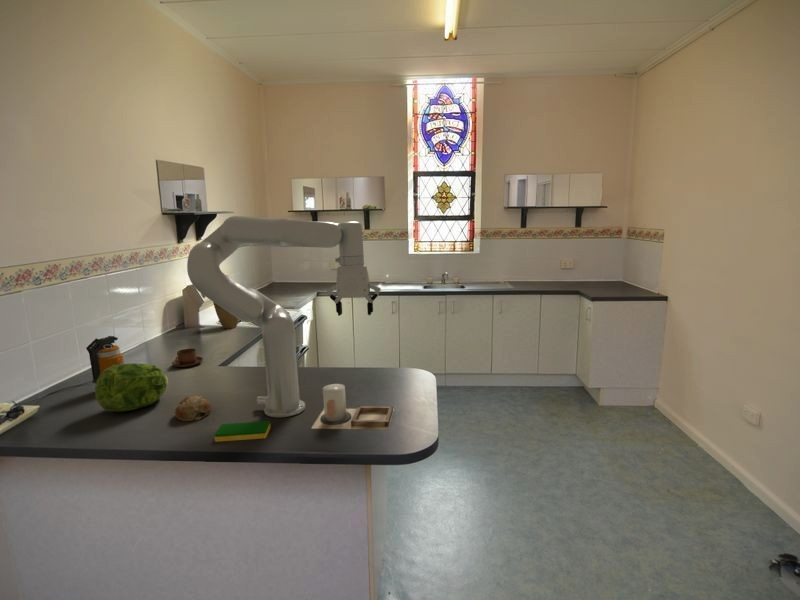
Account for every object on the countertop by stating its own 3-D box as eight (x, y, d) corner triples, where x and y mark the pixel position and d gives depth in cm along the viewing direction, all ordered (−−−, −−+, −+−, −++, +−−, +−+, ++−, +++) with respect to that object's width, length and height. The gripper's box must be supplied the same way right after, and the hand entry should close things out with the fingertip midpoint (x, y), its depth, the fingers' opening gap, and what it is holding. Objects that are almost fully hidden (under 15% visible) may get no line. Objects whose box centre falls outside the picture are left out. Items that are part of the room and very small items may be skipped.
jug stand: (311, 431, 133) (310, 423, 133) (324, 411, 147) (323, 403, 146) (388, 432, 131) (388, 424, 130) (394, 412, 144) (394, 404, 144)
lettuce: (179, 409, 160) (182, 363, 163) (118, 412, 142) (123, 361, 144) (148, 409, 168) (151, 365, 170) (86, 412, 149) (90, 363, 152)
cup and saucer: (195, 369, 195) (194, 354, 194) (167, 369, 196) (165, 355, 195) (207, 360, 207) (206, 346, 206) (180, 361, 208) (179, 347, 206)
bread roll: (186, 434, 143) (190, 414, 140) (166, 415, 147) (169, 394, 144) (214, 422, 151) (219, 402, 148) (194, 403, 155) (198, 384, 152)
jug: (327, 412, 143) (325, 383, 141) (348, 412, 142) (346, 383, 140) (320, 424, 134) (317, 394, 132) (342, 425, 133) (340, 394, 132)
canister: (132, 386, 176) (125, 334, 173) (103, 397, 166) (95, 342, 163) (116, 384, 180) (109, 333, 176) (87, 394, 170) (78, 340, 167)
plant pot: (247, 324, 277) (245, 297, 274) (236, 330, 262) (233, 301, 259) (223, 324, 278) (220, 297, 275) (210, 330, 264) (207, 302, 261)
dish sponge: (222, 431, 136) (221, 423, 136) (271, 428, 137) (270, 420, 137) (214, 443, 130) (213, 435, 129) (266, 439, 130) (265, 431, 130)
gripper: (321, 263, 146) (325, 317, 149) (377, 261, 144) (379, 316, 147) (328, 261, 153) (331, 312, 156) (380, 259, 151) (383, 311, 154)
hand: (354, 314), depth 152 cm, fingers open, 9 cm apart
